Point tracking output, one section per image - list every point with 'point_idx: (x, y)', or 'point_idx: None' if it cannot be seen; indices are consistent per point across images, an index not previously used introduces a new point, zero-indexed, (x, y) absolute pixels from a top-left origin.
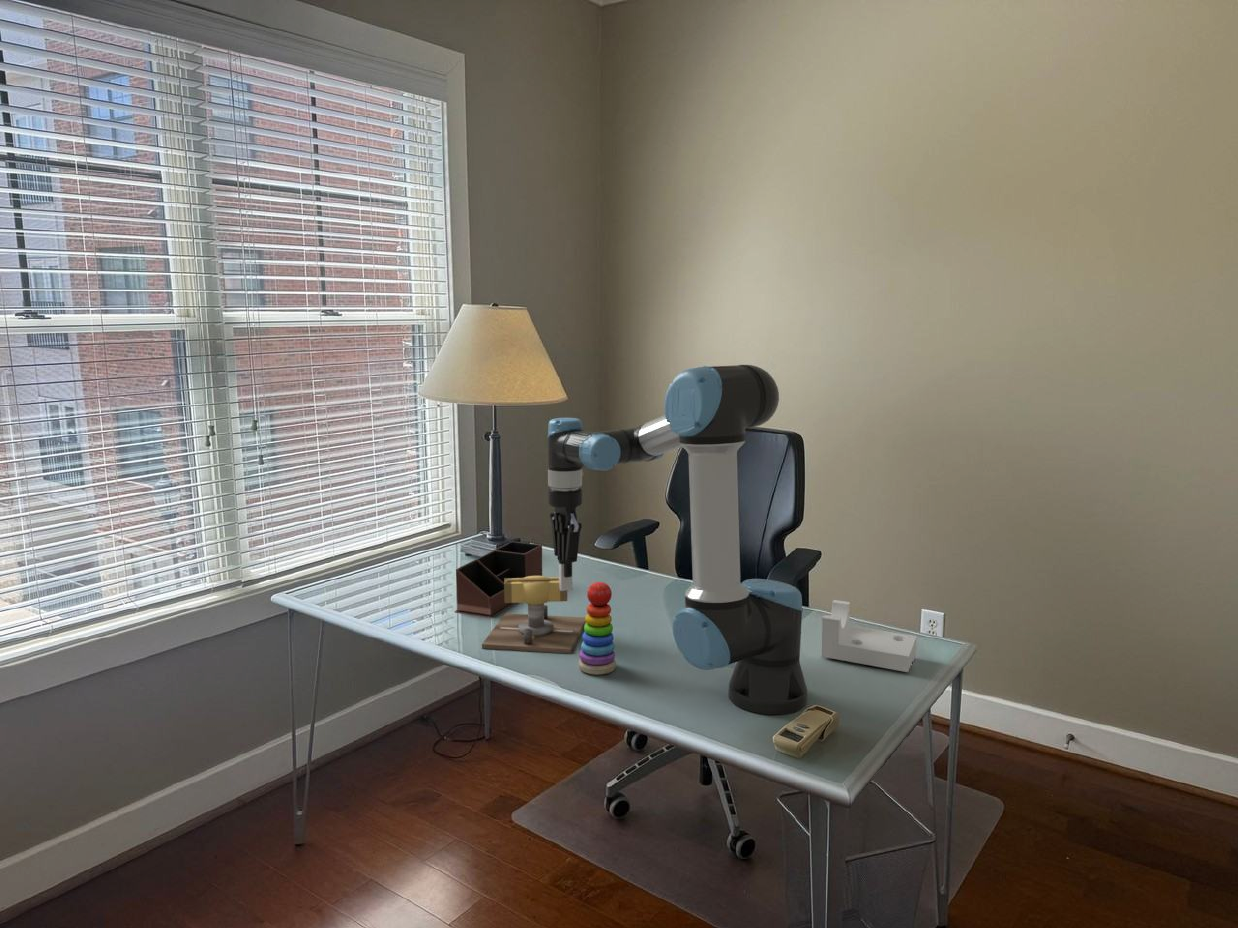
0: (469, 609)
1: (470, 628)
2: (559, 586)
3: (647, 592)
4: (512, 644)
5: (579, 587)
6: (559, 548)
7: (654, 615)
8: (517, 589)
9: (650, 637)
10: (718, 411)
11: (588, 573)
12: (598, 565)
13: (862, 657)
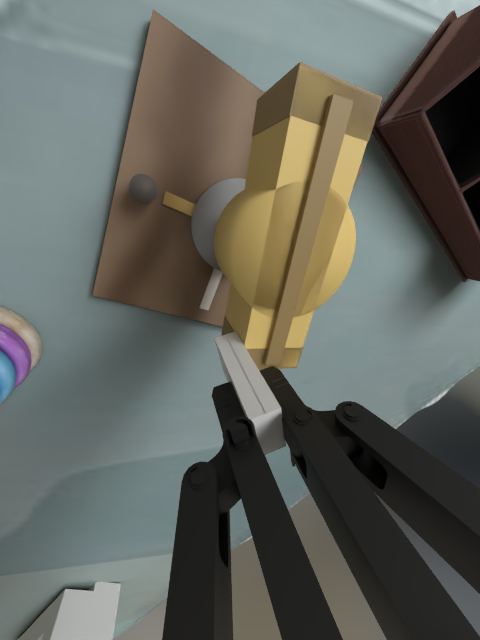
0: (430, 57)
1: (324, 29)
2: (234, 338)
3: None
4: (138, 135)
5: (416, 333)
6: (324, 485)
7: None
8: (270, 159)
9: (172, 425)
10: None
11: (454, 349)
12: (469, 362)
13: (34, 629)
